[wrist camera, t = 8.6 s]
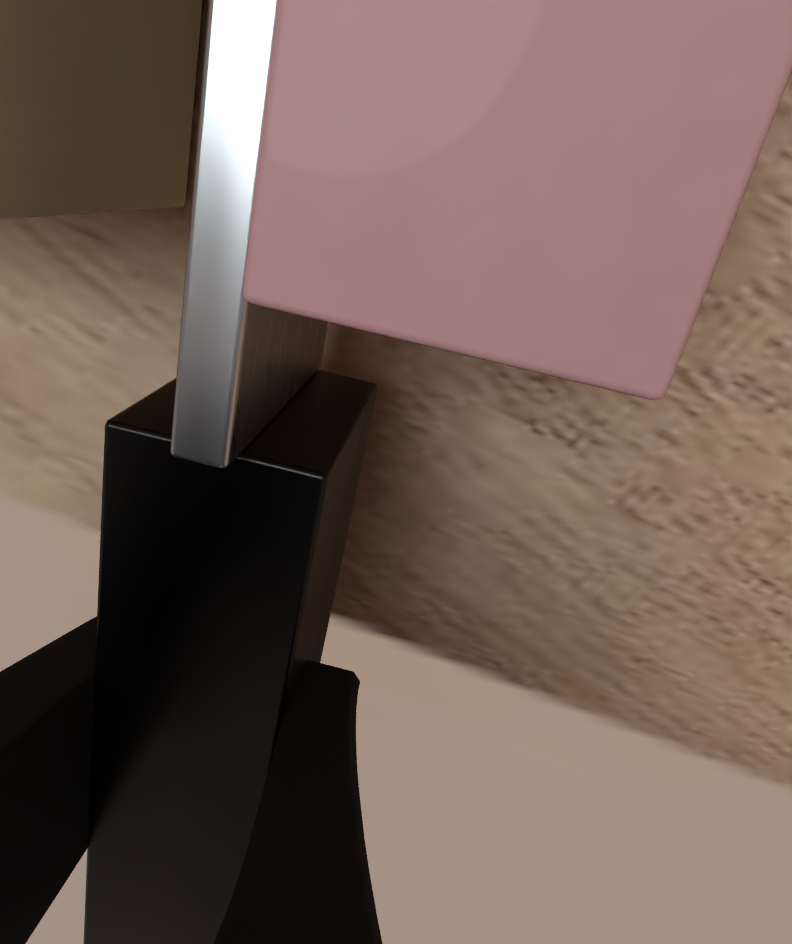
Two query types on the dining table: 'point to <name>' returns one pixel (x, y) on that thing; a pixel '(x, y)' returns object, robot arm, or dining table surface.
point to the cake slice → (512, 172)
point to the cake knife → (212, 546)
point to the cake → (95, 104)
